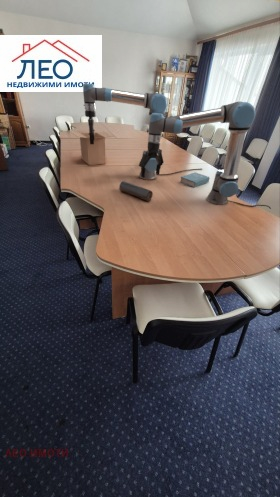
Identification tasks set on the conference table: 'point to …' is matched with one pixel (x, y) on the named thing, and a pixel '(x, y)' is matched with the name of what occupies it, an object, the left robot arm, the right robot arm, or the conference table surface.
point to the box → (92, 147)
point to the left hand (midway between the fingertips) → (92, 142)
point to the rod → (136, 191)
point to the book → (194, 179)
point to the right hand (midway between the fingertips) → (150, 175)
